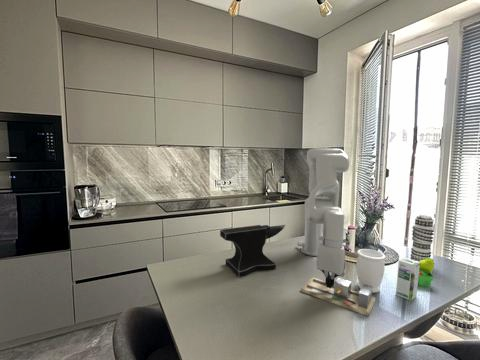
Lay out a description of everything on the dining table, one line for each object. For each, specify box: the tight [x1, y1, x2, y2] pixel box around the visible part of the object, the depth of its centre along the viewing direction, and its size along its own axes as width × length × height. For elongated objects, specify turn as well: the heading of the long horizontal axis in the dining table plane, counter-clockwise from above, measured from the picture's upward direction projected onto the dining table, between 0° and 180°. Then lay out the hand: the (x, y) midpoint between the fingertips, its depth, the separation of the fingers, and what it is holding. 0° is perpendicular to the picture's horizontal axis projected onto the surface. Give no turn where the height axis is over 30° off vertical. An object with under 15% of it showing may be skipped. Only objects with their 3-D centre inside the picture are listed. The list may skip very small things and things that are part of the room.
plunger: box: [334, 277, 352, 299], centre depth 96 cm, size 5×9×5 cm, turn 142°
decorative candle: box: [409, 214, 435, 262], centre depth 130 cm, size 9×9×25 cm
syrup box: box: [395, 257, 420, 302], centre depth 99 cm, size 6×6×14 cm
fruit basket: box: [418, 257, 435, 288], centre depth 111 cm, size 11×9×11 cm
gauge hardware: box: [307, 279, 373, 309], centre depth 98 cm, size 22×8×5 cm, turn 53°
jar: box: [356, 248, 386, 294], centre depth 105 cm, size 11×10×15 cm
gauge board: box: [300, 277, 376, 317], centre depth 99 cm, size 25×12×2 cm, turn 53°
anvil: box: [219, 224, 286, 279], centre depth 122 cm, size 35×15×20 cm, turn 117°
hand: (329, 286), depth 100 cm, fingers closed
